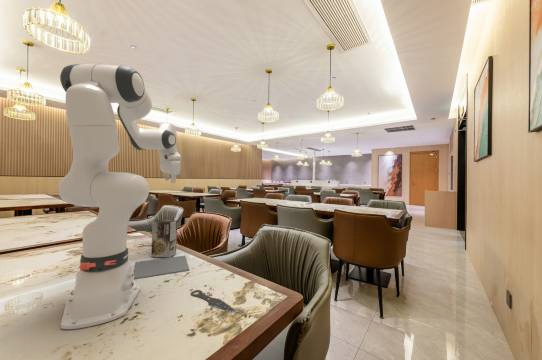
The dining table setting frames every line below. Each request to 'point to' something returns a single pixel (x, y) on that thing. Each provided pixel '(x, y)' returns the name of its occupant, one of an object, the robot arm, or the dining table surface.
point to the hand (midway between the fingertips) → (170, 181)
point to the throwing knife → (213, 301)
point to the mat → (160, 267)
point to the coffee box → (164, 238)
